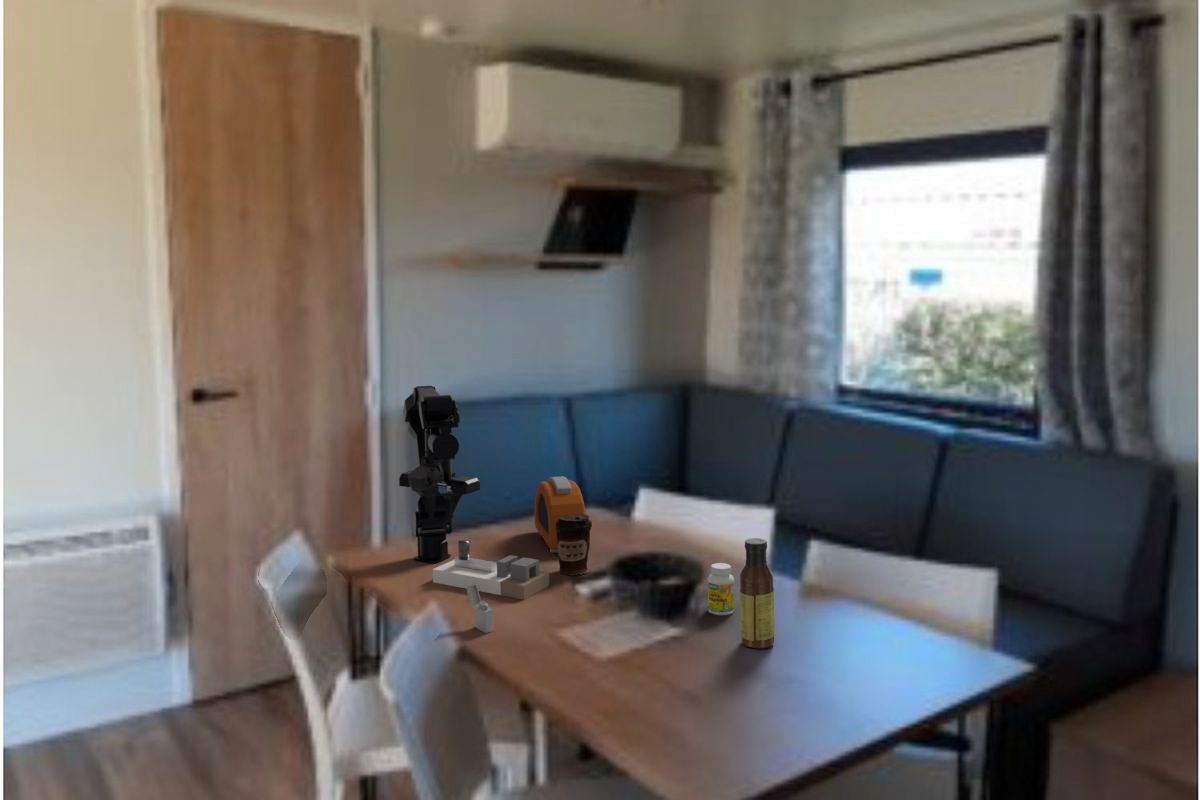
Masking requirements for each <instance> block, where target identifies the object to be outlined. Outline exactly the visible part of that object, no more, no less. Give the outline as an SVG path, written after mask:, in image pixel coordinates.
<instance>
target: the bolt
mask: <svg viewBox="0 0 1200 800" xmlns="http://www.w3.org/2000/svg"><path fill="white" fill-rule="evenodd" d="M457 541H458V556H456V557H454V558H453V560H454V565H455V566H461V567H466V568H472V569H477V570H483V571H489V572H493V571H495V570H497V561H491V560H490V561H489V560H483V559H479V558H472V557H470V556H471V554H470V552H471V550H470V540H469V539H460V540H457Z"/></svg>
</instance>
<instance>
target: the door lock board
mask: <svg viewBox="0 0 1200 800" xmlns="http://www.w3.org/2000/svg"><path fill="white" fill-rule="evenodd" d="M496 562H497V570H495V571H493V572H489V571H483V570H477V569H472V568H466V567H461V566H455V565H454V559H452V560H450V561H448V562H446V563H444V564H441V565H438V566H437V567H435V568H432V583H435V584H440V585H445V586H450V587H454V588H455V587H456V588H462V589H466V587H467V586H469V585H472V584H477V587H478V591H479V592H482V593H487V594H488V593H489V594H494V595H498V596H502V597H503V596H504V597H509V598H513V599H519V600H527V599H529V598H530V597H532V596H534V595H535V594H538V593H539V592H541V591H542V590H544V589H546V588H548V587H549V586H550V573H549V572H548V571H546V572H545V571H542V570H541V571H540V560H539V559H535V558H529V557H524V556H523V557H521V558H519V557H518V556H517V555H511V554H510V555H507V556H506V557H505V556H504V557H503V558H501V559H499V560H498V561H496Z"/></svg>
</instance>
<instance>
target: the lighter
mask: <svg viewBox="0 0 1200 800" xmlns="http://www.w3.org/2000/svg"><path fill="white" fill-rule="evenodd" d="M465 589H466V592H467V596H468V600H469V604H470V607H471V608H474V623H475V624H474V628H476V629H477V630H479V631H481V632H483V633H485V634H488V633H492V632H494V612H493V611H494V610H493V609H492V608H491V607H489V603H488V602H485V601H484V600H481V596H480V595H481V594H480V593H479V592H480V591H478V587H477V584H472V585H469V586H467V587H466V588H465Z"/></svg>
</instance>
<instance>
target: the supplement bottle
mask: <svg viewBox="0 0 1200 800" xmlns="http://www.w3.org/2000/svg"><path fill="white" fill-rule="evenodd" d="M710 572H711V573H710V575H709V576H708V577H707V611H708V613H710V614H712V615H716V616H728V615H731V614H733V612H734V611H735V578H734V575H732V574H731V573H732V566H731V565H730V564H728V563H724V562H718V563H717V562H716V563H712V564H711V565H710Z"/></svg>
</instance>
